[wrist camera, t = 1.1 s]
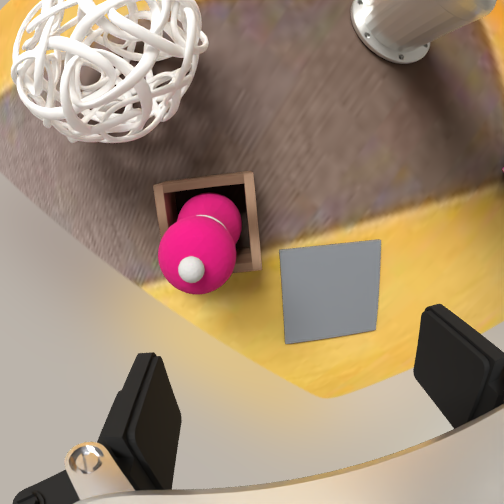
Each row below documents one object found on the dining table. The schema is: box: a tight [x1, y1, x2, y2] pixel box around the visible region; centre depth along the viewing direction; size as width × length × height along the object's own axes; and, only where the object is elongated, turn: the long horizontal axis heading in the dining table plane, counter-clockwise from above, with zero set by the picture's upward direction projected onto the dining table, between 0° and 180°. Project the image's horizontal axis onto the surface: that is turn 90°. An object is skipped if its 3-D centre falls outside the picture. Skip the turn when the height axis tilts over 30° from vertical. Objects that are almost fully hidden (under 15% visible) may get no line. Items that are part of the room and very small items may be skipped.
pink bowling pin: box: [158, 192, 242, 294], centre depth 30 cm, size 7×7×20 cm
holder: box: [153, 171, 262, 273], centre depth 36 cm, size 11×11×6 cm
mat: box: [279, 240, 381, 344], centre depth 43 cm, size 14×14×1 cm
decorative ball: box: [11, 0, 209, 143], centre depth 24 cm, size 20×20×19 cm
